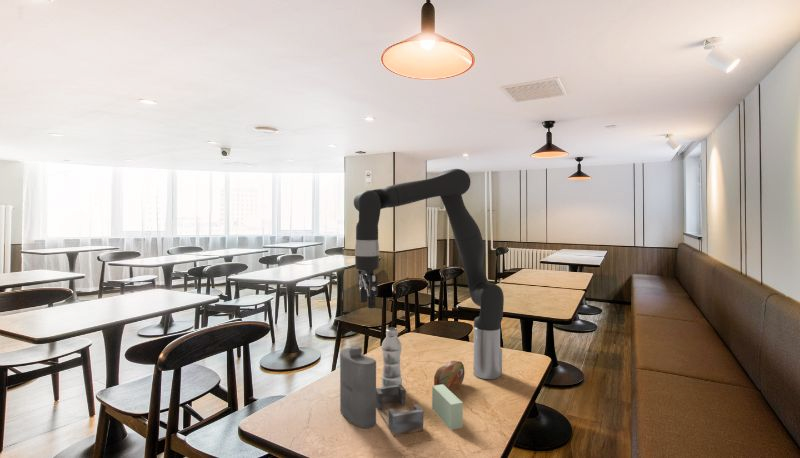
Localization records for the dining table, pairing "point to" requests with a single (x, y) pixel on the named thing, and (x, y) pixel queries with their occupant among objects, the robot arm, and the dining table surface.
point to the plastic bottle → (391, 358)
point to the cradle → (398, 410)
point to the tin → (450, 375)
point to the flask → (358, 387)
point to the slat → (447, 406)
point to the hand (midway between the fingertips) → (367, 304)
